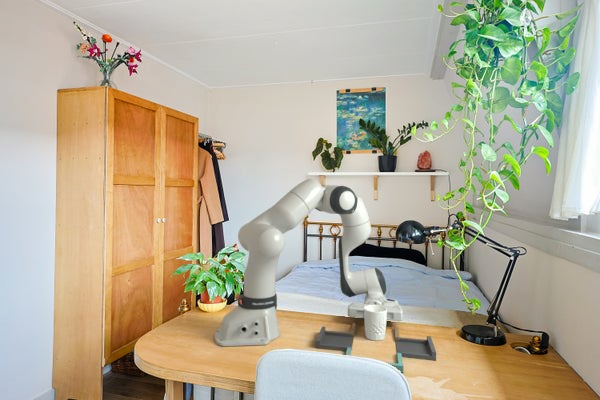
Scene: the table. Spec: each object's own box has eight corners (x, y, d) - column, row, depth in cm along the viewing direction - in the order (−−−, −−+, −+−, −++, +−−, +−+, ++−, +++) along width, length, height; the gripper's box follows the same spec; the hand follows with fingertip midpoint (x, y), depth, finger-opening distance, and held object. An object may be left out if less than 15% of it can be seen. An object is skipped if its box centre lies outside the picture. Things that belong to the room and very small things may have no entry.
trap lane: (326, 323, 137) (326, 317, 137) (426, 332, 129) (426, 325, 129) (309, 362, 106) (309, 354, 106) (441, 377, 98) (441, 368, 98)
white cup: (361, 339, 123) (361, 310, 123) (365, 331, 130) (366, 303, 130) (385, 343, 120) (385, 313, 120) (388, 334, 127) (388, 306, 127)
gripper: (348, 297, 144) (345, 307, 131) (401, 300, 140) (404, 312, 126) (348, 312, 144) (345, 325, 131) (401, 317, 140) (403, 330, 127)
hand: (374, 319), depth 129 cm, fingers closed, pressing on white cup
